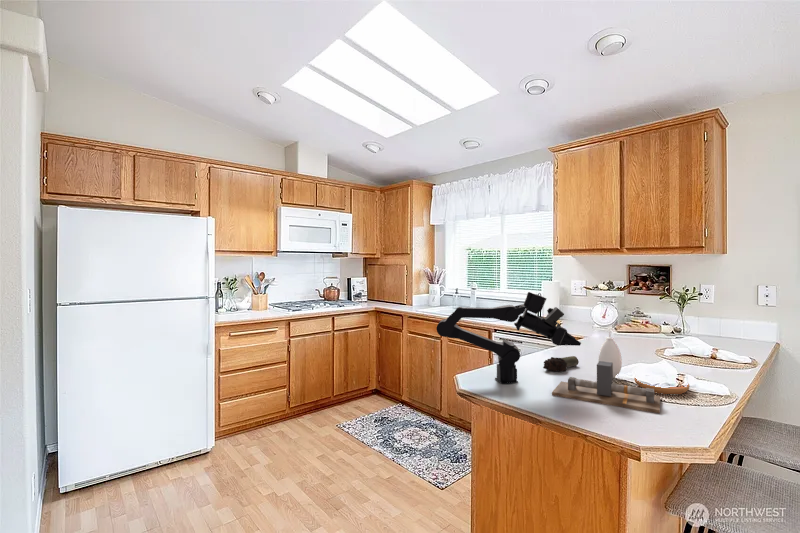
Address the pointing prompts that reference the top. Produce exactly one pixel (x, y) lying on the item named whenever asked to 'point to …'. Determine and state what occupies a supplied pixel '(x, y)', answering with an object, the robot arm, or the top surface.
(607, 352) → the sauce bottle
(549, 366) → the dark elongated piece
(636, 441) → the top surface
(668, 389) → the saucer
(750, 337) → the top surface
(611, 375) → the grey upright block
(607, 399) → the pipe board
